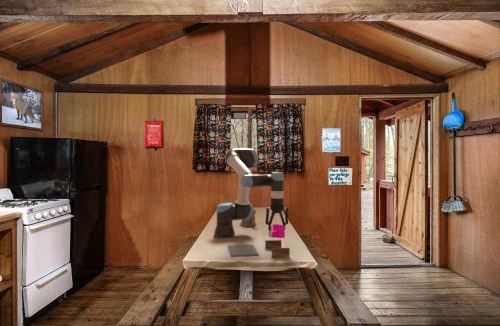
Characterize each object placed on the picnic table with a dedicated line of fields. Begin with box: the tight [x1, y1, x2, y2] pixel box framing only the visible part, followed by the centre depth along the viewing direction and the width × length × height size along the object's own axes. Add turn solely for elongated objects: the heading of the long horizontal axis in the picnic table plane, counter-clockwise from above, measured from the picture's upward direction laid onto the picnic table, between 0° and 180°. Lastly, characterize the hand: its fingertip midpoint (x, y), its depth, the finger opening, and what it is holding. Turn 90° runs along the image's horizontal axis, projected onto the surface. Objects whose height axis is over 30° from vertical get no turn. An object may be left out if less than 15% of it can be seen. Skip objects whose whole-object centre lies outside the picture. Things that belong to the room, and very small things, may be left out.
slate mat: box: [227, 244, 260, 258], centre depth 200 cm, size 22×16×1 cm
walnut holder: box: [264, 239, 291, 259], centre depth 197 cm, size 21×10×5 cm, turn 9°
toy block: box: [268, 223, 286, 239], centre depth 198 cm, size 15×6×8 cm, turn 9°
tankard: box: [239, 207, 257, 227], centre depth 276 cm, size 20×13×15 cm, turn 25°
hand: (276, 235), depth 197 cm, fingers closed on toy block, 6 cm apart
